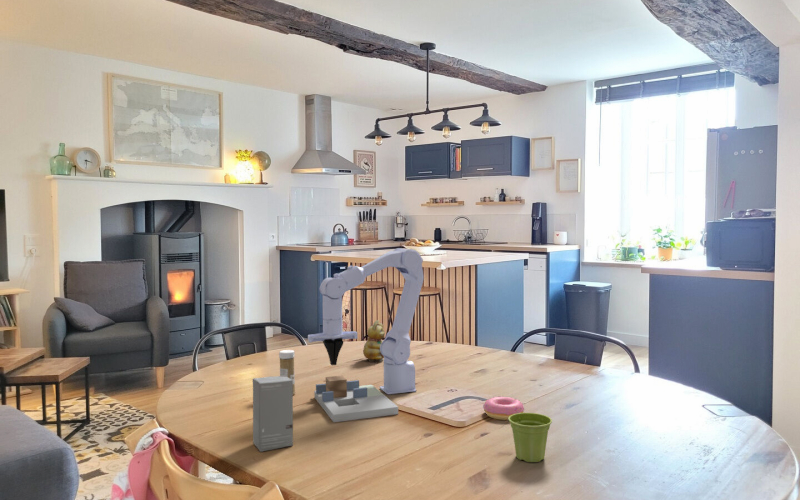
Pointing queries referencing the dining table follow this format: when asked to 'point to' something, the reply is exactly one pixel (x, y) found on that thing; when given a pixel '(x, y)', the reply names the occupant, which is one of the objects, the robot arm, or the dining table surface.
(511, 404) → the doughnut
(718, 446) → the dining table surface
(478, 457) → the dining table surface
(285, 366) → the sprinkles bottle
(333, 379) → the walnut block
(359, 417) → the deck
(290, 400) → the skincare box
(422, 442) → the dining table surface
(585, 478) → the dining table surface
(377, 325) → the decorative figurine
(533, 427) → the plant pot
